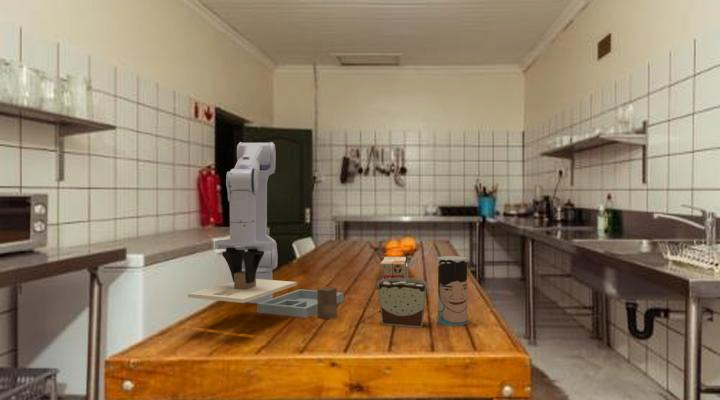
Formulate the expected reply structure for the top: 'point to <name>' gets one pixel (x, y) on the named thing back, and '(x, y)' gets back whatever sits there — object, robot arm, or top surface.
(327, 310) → the walnut key
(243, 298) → the lid
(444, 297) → the cup
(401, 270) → the stack of blocks
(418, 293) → the food container
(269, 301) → the shallow tray
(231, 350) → the top surface
